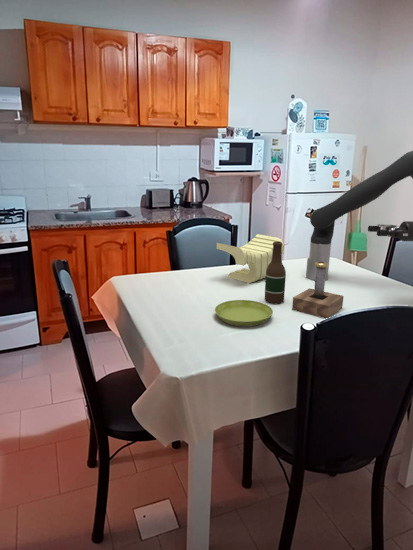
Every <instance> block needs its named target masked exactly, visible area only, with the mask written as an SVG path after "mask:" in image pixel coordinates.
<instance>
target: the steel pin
mask: <svg viewBox="0 0 413 550" xmlns="http://www.w3.org/2000/svg"><path fill="white" fill-rule="evenodd" d="M315 266H316V277H315V280H314V288H313V289H314V298H316V299H320V300H323V297H324V292H325V286H326V285H325V284H326V280H325V275H326V267H328V263H326V262H315Z"/></svg>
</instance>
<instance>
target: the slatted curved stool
mask: <svg viewBox="0 0 413 550" xmlns="http://www.w3.org/2000/svg"><path fill="white" fill-rule="evenodd" d="M273 242H282V255H284V250H285V243H284V241H283V239H281V238H279V237H275V236H270V235H264V234H261V233H257V234H256V235H255V237H253V238H252V239H251V240H250V241H248V243H246V244H244V245H242V246H240V247H239V246H234V245H229V244H226V243H219V242H216V250H220V251H223V252H226V253H228V254H230V255H231V256H232V257H233V259H234V260H235V264H236V265H239V266H240V265H241V266H246V265H247V266H248V268H241V269H238V270H234V271H231V272H229V274H228V277H227V278H230V279H233V280H238V281H242V282H245V283H250V284H251V283H254V282H256V281H260V280H262V279H266V269H267V267H268V265H269V264H270V263H271V259H272V252H273Z"/></svg>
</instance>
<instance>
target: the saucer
mask: <svg viewBox="0 0 413 550" xmlns="http://www.w3.org/2000/svg"><path fill="white" fill-rule="evenodd" d="M214 312H215V314H216V316H217V317H218V318H219V319H220V320H221V321H223V322H224V323H226V324H228V325H230V326H231V325H232V326H235V327H256V326H259V325H262V324H264V323H266V322H267V321H268V320H269V319H270V318H271V317H272V316H273V313H274V310H273V308H272V307H270V305H268V304H266V303H263V302H261V301H255V300H252V299H251V300H250V299H248V300H247V299H234V300H227V301H224V302H221V303H219V304H217V305H216V306H215V307H214Z"/></svg>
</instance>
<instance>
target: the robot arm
mask: <svg viewBox="0 0 413 550" xmlns="http://www.w3.org/2000/svg"><path fill="white" fill-rule="evenodd" d="M408 177H411V178H412V179H413V150H410V151H408V152H406V153H404V154H403V155H401V156H400V157H399V158H397V160H395V161H394V162H392V163H391V164H390V165H389V166H388V165H387V166H386V168H384V169H382V170H381V171H379V172H376V173H375V174H372V175H371V176H370V177H368V178H366V179H364V180H362V181H361V182H359V183H358V184H356V185H355V186H353V187H351V188H350V189H348V190H347V191H346V192H344V193H343V194H342V195H341V196H339V197H337V198H336V199H335V200H333V201H331V202H329V203H328V204H326V205H323V206H321V207H319V208H317V209H315V210H314V211H313V212H312V213H311V215H310V220H309V221H310V222H309V223H310V224H311V226H312V228H313V232H312V234H311V236H310V245H309V247H310V248H309V257H307V261H306V270H305V271H306V272H305V273H306V274H305V278H306V279H309V280H311V281H315V277H316V266H315V262H326V263H328V267H326V275H325V281H327V280H328V278H329V268H330V260H331V258H330V257H331V247H332V240H333V236H334V233H335V232H334V230H335V223H336V221H337V220H338V219H339V218H341V217H343V216H345V215H346V214H349V213H351V212H354V211H356V210H358V209H361V208H363V207H365V206H366V205H368V204H370V203H371V202H373V201H375V200H376V199H379V197H381V196H382V195H384V193H385V192H387V191H388V190H389V189H390V188H391V187H392V186H394V185H395V184H396V183H398V182H400V181H402V180H404V179H406V178H408ZM381 228H382V229H381ZM367 231H368V232H369V233H370V232H371V233H372V232H374V233H376V236H378V237H387V238H392V239H399V240H400V241H402V242H413V221H411V220H409V221H408V220H407V221H405V220H403V221H402V222H401V223H400V225H399V226H398V225H396V224H380V223H378V224H377V225H368V226H367Z"/></svg>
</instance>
